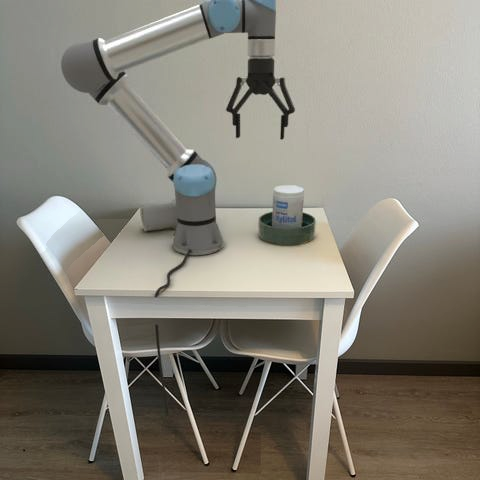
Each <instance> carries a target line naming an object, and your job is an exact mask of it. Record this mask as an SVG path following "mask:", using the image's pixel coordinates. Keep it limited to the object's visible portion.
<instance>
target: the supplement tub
mask: <svg viewBox="0 0 480 480" xmlns="http://www.w3.org/2000/svg"><path fill="white" fill-rule="evenodd" d="M304 191H305V190H304V188H303V187H301V186H299V185H293V184H291V185H289V184H286V185H285V184H283V185H278V186H275V187H274V188H273V193H272V211H271V212H272V227H275V228H283V229H292V228H301V227H302V215H303V212H304V199H305V193H304Z"/></svg>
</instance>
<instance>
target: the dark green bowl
mask: <svg viewBox="0 0 480 480" xmlns="http://www.w3.org/2000/svg"><path fill="white" fill-rule="evenodd" d="M316 221H317V220H316V217H314V216H313V215H312V214H310V213H307V212H304V211H303V215H302V227H301V228H292V229H283V228H275V227H272V211H269V212H266V213H263V214H261V215H260V216H259V217H258V237H259V238H260V239H261V240H263V241H264V242H267V243H270V244H275V245H288V246H290V245H300V244H305V243H308V242H310V241H311V240H313V239H314V238H315V236H316Z"/></svg>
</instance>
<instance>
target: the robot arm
mask: <svg viewBox="0 0 480 480" xmlns="http://www.w3.org/2000/svg"><path fill="white" fill-rule="evenodd" d="M276 18H277V0H205V1H204V2H203V3H201V4H198V5H194V6H192V7H190V8H187V9H185V10H182V11H179V12H176V13H174V14H172V15H168V16H166V17H163V18H161V19H159V20H157V21H153V22H151V23H147V24H146V25H143V26H140V27H137V28H134V29H132V30H130V31H128V32H127V31H126V32H123V33H122V34H120V35H117V36H114V37H111V38H108V39H106V40H105V39H103V38H101V37H98V38H95V39H92V40H90V41H86V42H80V43H78V42H77V43H74V44H72V45H70V46H68V48H66V49H65V51H64V52H63V54H62V56H61V61H60V66H61V67H60V69H61V73H62V76H63V78H64V80H65V81H66V82H67V84H68V85H69V86H70V87H71V88H73V89H74V90H76V91H78V92H79V93H85V94H89V96H90V97H92V99H94V101H95V102H96V103H97V104H98V105H100V106H107V107H108V108H109V109H110V111H112V112H113V113H114V114H115V115H116V116H117V118H119V120H120V121H121V122H122V123H123V124H124V125H125V126H126V127H127V128H128V129H129V130H130V131H131V133H132V134H133V135H134V136H135V137H136V138H137V139H138V140H139V142H141V143H142V144H143V145H144V146H145V147H146V148H147V149H148V150H149V151H150V153H151V154H152V155H153V156H154V157H155V158H156V159H157V160H158V161H159V162H160V163H161V164H162V166H163V167H165V168H166V177H167V178H168V179H169V180H170V181H171V182H172V183H173V187H174V196H175V197H174V198H175V199H176V211H177V222H178V223H177V228H176V229H175V231H174V234H173V236H174V237H173V250H174V251H175V252H177V253H179V254H181V255H185V256H184V257H183V259H182V261H181V262H180V264H178V265H177V266H174V267H173V268H172V269H170V270H169V271H168V273H167V274H166V280H167V282H166V283H165V284H164V285H161V286H159V287H158V288H157V290H156V291H155V294H154V298H158V297H159V293H160V291H162V290H163V289H166V288H167V287H169V286H170V284H171V274H173V273H174V272H175V271H176V270H179V269H180V268H181V267H183V266H184V264H185V263H186V261H187V259H188V257H189V256H193V257H194V256H207V255H211V254H215V253H217V252H219V251H220V250H222V249H223V247H224V240H223V236H222V234H221V230H220V228H219V224H218V222H217V211H216V210H217V208H216V187H217V174H216V171H215V169H214V167H213V165H211V164H210V163H209V162H208V161H207V160H205V159H203V158H202V157H201V156H200V155H199V154H198V153H197V151H196V150H195V149H189V148H186V146H184V144H182V142H181V141H180V140H179V139H178V138H177V137H176V135H175V134H174V133H173V132H172V131H171V130H170V129H169V128H168V126H167V125H166V124H165V123H164V122H163V121H162V120H161V119H160V118H159V117H158V116H157V114H156V113H155V112H154V111H153V110H152V109H151V108H150V106H149V105H148V104H147V103H146V102H145V101H144V100H143V99H142V98H141V97H140V95H139V94H138V93H137V92H136V91H135V90H134V89H133V88H132V87H131V85H130V84H129V79H128V77H129V76H128V74H127V73H126V72H125V71H129V70H131V69H134V68H136V67H139V66H142V65H144V64H147V63H150V62H152V61H155V60H158V59H160V58H163V57H166V56H168V55H171V54H173V53H176V52H179V51H181V50H184V49H186V48H189V47H191V46H192V47H193V46H195V45H197V44H200V43H202V42H205V41H207V40H210V39H213V38H216V37H219V36H222V35H224V34H239V33H241V34H247V56H248V57H249V58H248V60H247V76H246V77H242V76H238V77H236V82H235V87H234V89H233V92H232V94H231V96H230V99H229V101H228V103H227V106H226V108H225V111H226V112H227V113H229V114H231V115H232V121H231V122H232V126H234V127H235V139H239V138H240V137H241V113H239V111H240V110H241V109H242V107H243V106H244V105H245V103H246V102H247V100H248V99H250V97H251V95H255V96H258V95H262V96H266V95H269V97H270V98H271V99H272V100H273V102H274V103H275V104H276V106H277V107H278V108H279V110H280V112H281V113H282V114H281V115H280V132H279V133H280V135H279V139H280V140H281V141H283V140H284V139H285V128H288V126H289V117H290V115H292V114H294V113H295V111H296V108H295V105H294V103H293V101H292V98H291V95H290V94H289V93H290V92H289V91H288V88H287V86H286V78H285V77H284V76H281V77H278V78H276V77H275V59H274V58H273V57H275V54H276V22H277V19H276ZM245 83H246V85H247V87H248V89H247V90H246V91H245V93H244V95H243V96H242V97H241V99H240V100H239V101H238V103H237V104H236V105H235V103H236V101H237V99H238V97H239V94H240V92H241V89H242V87H243V86H244V85H245ZM276 84H277V86H278V87H279V89H280V90H281V92H282V96H283V98H284V101H285V103H286V105H285V103H284V102H283V101H282V99H281V98H280V97H279V96H278V94H277V92H276V91H275V89H274V88H273V87H274V86H275V85H276ZM234 105H235V107H234ZM154 326H155V327H154V328H155V340H156V351H157V359H158V360H157V361H158V366H159V374H160V382H161V388H162V393H163V394H162V395H163V402H164V411H165V416H166V417H169V410H168V400H167V394H166V386H165V378H164V372H163V371H164V370H163V364H162V356H161V346H160V337H159V335H160V333H159V324H155V325H154Z"/></svg>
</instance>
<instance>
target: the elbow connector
mask: <svg viewBox="0 0 480 480" xmlns="http://www.w3.org/2000/svg"><path fill="white" fill-rule="evenodd" d="M139 211H140V213H139V214H140V219H141V224H142V228H143V230H144V232H152V231H158V230H164V229H171V228H172V229H174V230H176V228H177V223H178V222H177V211H176V199H175V197H174V198H173V199H172V201H168V202H161V203H152V204H145V205H140V208H139Z"/></svg>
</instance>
